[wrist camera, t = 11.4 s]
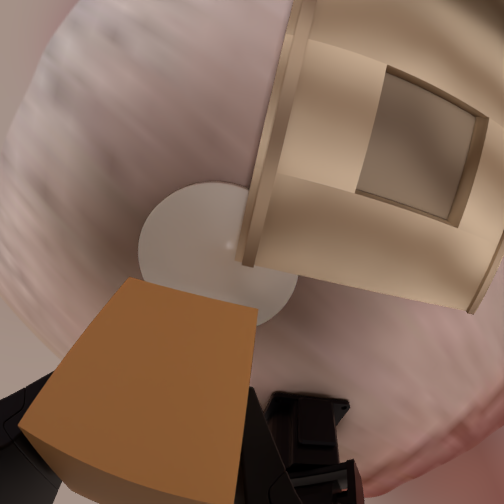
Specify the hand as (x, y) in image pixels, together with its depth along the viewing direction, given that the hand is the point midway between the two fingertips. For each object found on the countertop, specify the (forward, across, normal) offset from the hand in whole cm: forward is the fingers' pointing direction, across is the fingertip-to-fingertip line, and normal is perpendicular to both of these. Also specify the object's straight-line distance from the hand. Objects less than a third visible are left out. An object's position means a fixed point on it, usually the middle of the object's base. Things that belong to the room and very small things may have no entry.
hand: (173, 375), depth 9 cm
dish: (+9, 0, 0) cm, 9 cm away
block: (+2, 0, 0) cm, 2 cm away
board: (+9, -9, -15) cm, 19 cm away
